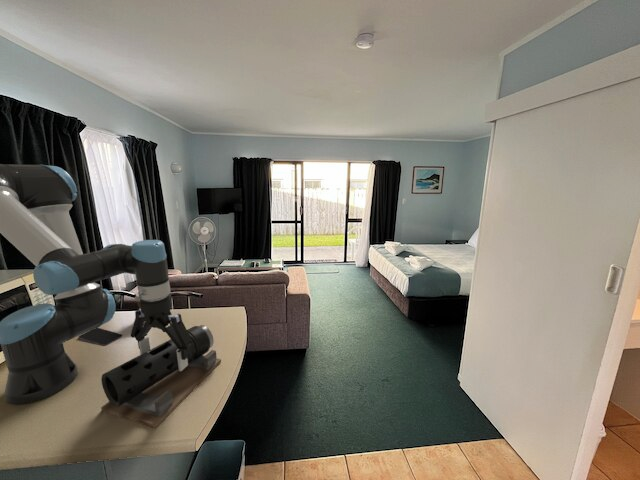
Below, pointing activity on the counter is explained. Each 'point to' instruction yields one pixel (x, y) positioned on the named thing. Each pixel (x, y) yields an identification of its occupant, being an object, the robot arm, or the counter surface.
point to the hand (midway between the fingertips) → (164, 363)
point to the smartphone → (100, 336)
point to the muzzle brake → (152, 367)
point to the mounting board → (165, 393)
